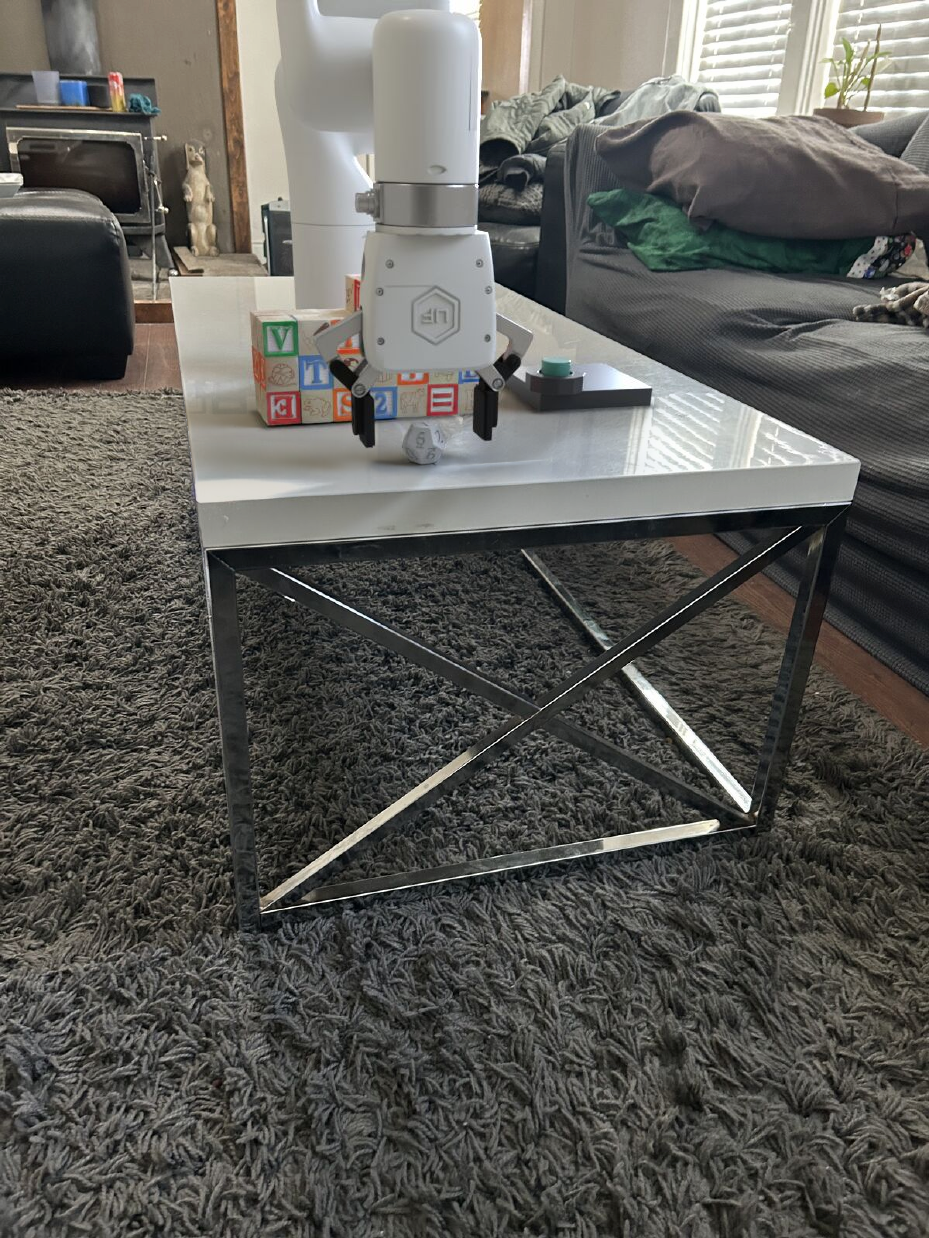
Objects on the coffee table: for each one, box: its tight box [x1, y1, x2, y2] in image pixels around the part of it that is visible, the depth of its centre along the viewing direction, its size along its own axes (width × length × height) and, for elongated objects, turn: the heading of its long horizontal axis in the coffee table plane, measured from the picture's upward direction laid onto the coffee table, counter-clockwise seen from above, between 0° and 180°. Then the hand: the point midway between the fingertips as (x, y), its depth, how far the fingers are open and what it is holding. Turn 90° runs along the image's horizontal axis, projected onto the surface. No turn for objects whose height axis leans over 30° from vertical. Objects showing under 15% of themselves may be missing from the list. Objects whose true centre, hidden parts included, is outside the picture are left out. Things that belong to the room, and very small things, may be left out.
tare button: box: [541, 356, 571, 376], centre depth 94 cm, size 3×3×2 cm
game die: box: [401, 420, 448, 465], centre depth 78 cm, size 4×4×3 cm
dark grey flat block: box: [504, 362, 653, 412], centre depth 99 cm, size 13×13×4 cm
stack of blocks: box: [249, 274, 479, 426], centre depth 89 cm, size 21×6×12 cm, turn 110°
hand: (425, 440), depth 77 cm, fingers open, 9 cm apart
